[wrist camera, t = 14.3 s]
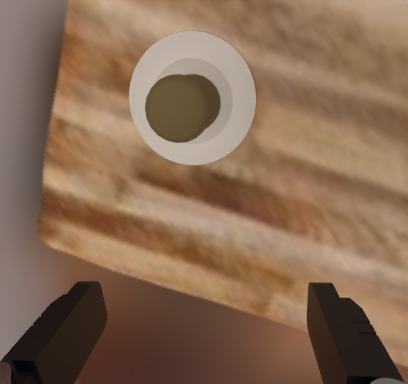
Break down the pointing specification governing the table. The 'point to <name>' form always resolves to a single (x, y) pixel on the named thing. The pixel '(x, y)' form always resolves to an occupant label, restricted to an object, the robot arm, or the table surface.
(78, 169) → the table surface
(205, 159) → the cream plate
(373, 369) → the robot arm
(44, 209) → the table surface
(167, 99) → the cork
